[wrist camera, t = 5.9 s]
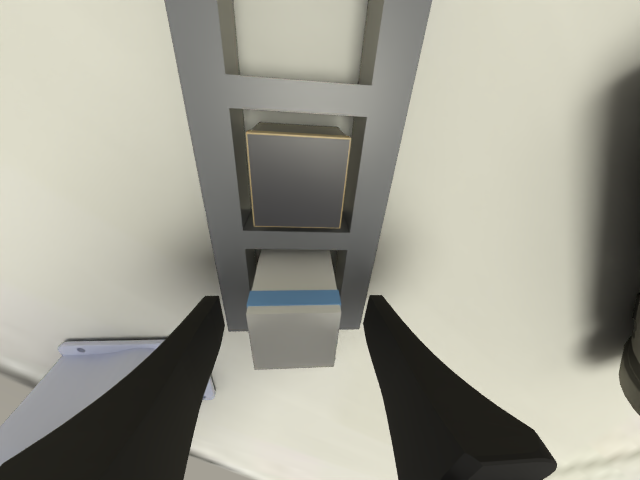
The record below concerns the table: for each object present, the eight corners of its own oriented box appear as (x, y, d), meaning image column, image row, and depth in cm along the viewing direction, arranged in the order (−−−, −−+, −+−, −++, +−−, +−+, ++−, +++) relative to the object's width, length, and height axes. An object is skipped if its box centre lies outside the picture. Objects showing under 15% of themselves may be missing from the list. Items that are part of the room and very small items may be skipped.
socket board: (236, 302, 17) (225, 343, 14) (163, -181, 7) (77, -349, 4) (352, 301, 18) (361, 340, 15) (432, -136, 8) (503, -254, 5)
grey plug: (267, 281, 16) (253, 370, 11) (263, 232, 14) (244, 313, 9) (323, 281, 17) (334, 367, 12) (327, 233, 15) (342, 311, 10)
